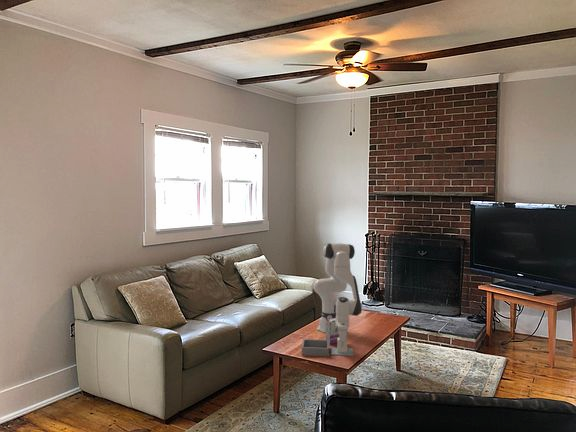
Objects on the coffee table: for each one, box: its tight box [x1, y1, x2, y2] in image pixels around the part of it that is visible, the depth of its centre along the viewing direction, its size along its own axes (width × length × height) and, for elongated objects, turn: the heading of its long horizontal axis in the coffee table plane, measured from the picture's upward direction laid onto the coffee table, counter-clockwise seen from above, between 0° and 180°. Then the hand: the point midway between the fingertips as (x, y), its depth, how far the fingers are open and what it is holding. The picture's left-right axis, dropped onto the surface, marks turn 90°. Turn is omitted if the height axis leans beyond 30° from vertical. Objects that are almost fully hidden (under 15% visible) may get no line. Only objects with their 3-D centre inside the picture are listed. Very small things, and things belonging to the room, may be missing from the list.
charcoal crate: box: [301, 338, 330, 357], centre depth 292 cm, size 16×17×5 cm
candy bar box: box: [325, 318, 339, 346], centre depth 308 cm, size 11×5×16 cm, turn 126°
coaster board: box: [330, 347, 354, 357], centre depth 291 cm, size 12×14×1 cm
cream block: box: [336, 337, 348, 353], centre depth 290 cm, size 4×6×8 cm
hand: (342, 344), depth 290 cm, fingers open, 8 cm apart
